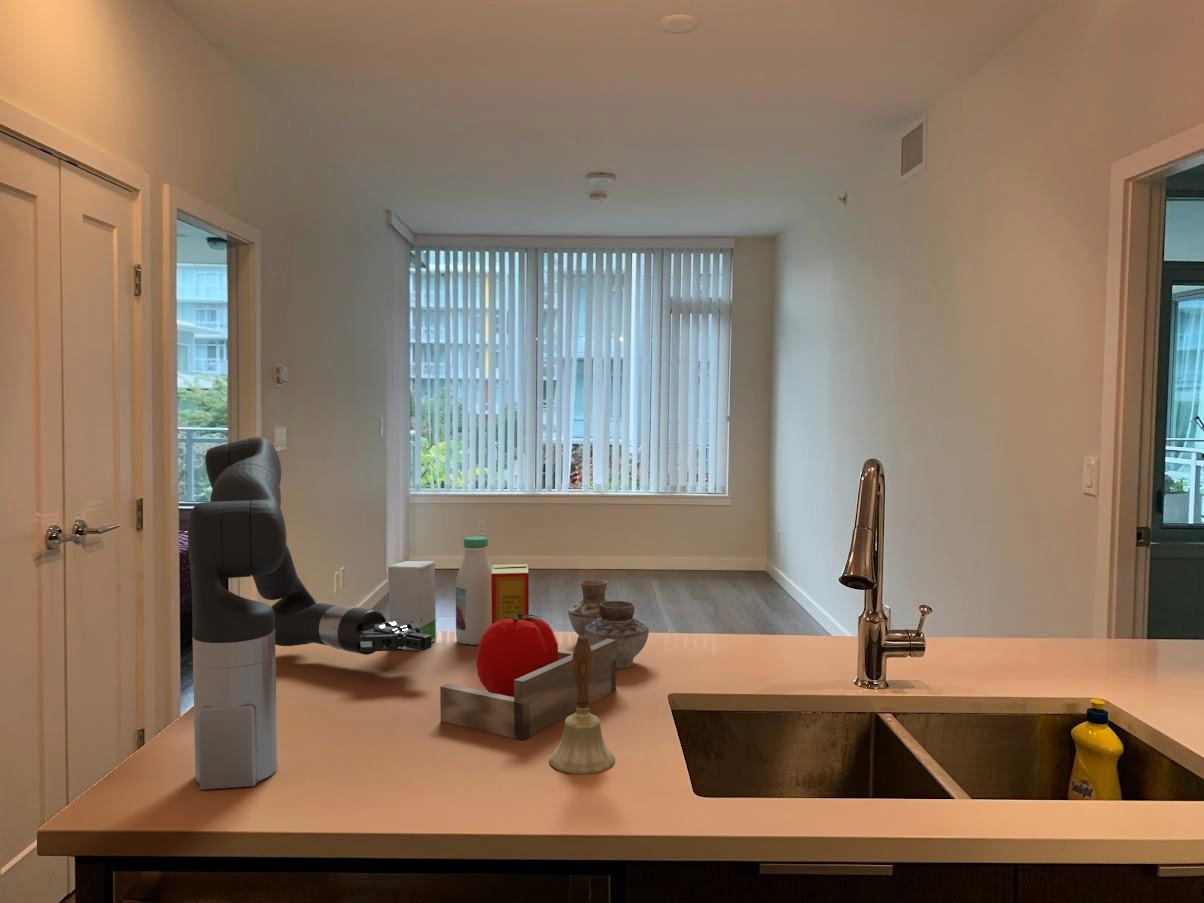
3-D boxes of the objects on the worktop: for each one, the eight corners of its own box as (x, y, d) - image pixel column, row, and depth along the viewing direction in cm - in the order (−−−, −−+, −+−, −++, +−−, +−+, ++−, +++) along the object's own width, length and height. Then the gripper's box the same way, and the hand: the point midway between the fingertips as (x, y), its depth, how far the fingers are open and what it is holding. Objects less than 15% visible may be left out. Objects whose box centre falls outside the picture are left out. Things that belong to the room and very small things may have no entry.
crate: (440, 721, 124) (440, 665, 124) (540, 675, 146) (540, 628, 145) (523, 740, 117) (523, 681, 116) (616, 689, 138) (616, 639, 138)
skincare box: (419, 651, 161) (419, 567, 160) (386, 649, 162) (385, 566, 161) (437, 640, 169) (436, 560, 168) (405, 638, 170) (404, 559, 169)
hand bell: (628, 761, 110) (628, 636, 109) (580, 780, 104) (580, 648, 103) (583, 743, 116) (583, 624, 115) (535, 761, 110) (535, 635, 109)
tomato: (490, 718, 125) (489, 626, 125) (467, 692, 137) (466, 608, 136) (572, 706, 130) (572, 618, 130) (543, 682, 142) (543, 601, 142)
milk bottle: (500, 636, 172) (499, 535, 171) (491, 646, 164) (490, 540, 163) (461, 635, 172) (461, 534, 172) (451, 645, 165) (450, 540, 164)
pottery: (613, 635, 173) (613, 575, 172) (658, 671, 149) (658, 601, 148) (558, 639, 169) (557, 578, 169) (594, 676, 146) (594, 605, 145)
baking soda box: (528, 660, 155) (528, 570, 154) (491, 661, 154) (491, 571, 154) (528, 646, 164) (527, 561, 164) (493, 647, 164) (492, 562, 163)
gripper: (322, 615, 145) (399, 628, 136) (380, 600, 156) (455, 612, 147) (322, 660, 145) (399, 676, 136) (380, 642, 156) (455, 656, 147)
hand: (428, 643), depth 142 cm, fingers closed
